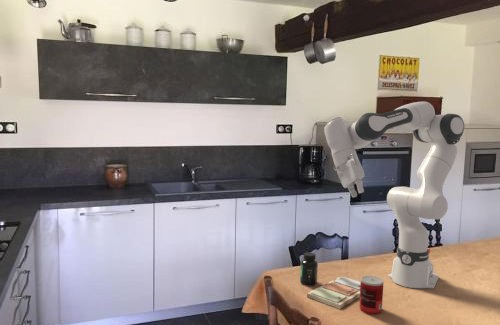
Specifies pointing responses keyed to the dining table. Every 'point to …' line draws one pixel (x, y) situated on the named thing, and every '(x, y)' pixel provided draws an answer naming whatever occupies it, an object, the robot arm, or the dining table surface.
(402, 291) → the dining table surface
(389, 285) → the dining table surface
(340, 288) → the tile board
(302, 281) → the supplement bottle
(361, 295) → the canned food
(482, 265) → the dining table surface
